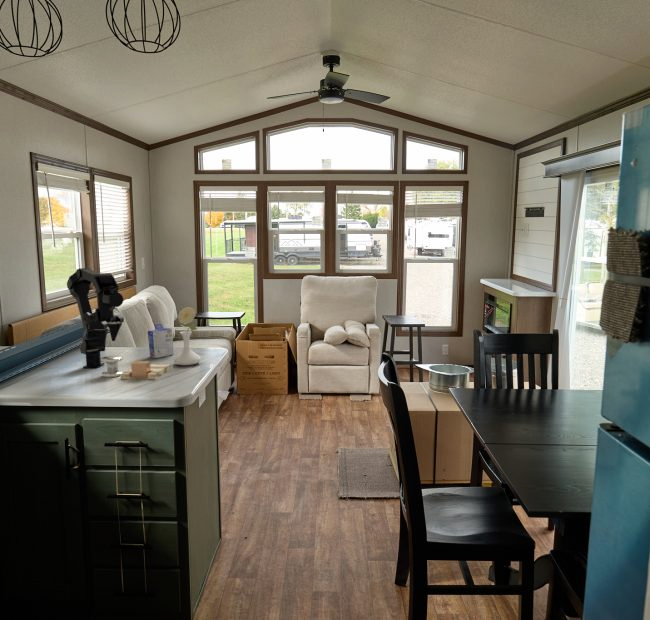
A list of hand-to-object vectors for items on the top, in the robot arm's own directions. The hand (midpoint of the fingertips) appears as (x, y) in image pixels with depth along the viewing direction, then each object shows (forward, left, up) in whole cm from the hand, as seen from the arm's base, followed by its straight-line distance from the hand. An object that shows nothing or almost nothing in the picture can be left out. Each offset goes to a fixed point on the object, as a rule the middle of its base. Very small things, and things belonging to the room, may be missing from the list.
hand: (108, 343), depth 230 cm
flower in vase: (-14, +28, -12) cm, 34 cm away
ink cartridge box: (-30, +10, -12) cm, 34 cm away
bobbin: (+4, +3, -12) cm, 13 cm away
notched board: (+2, +16, -12) cm, 20 cm away
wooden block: (+7, +16, -12) cm, 21 cm away
